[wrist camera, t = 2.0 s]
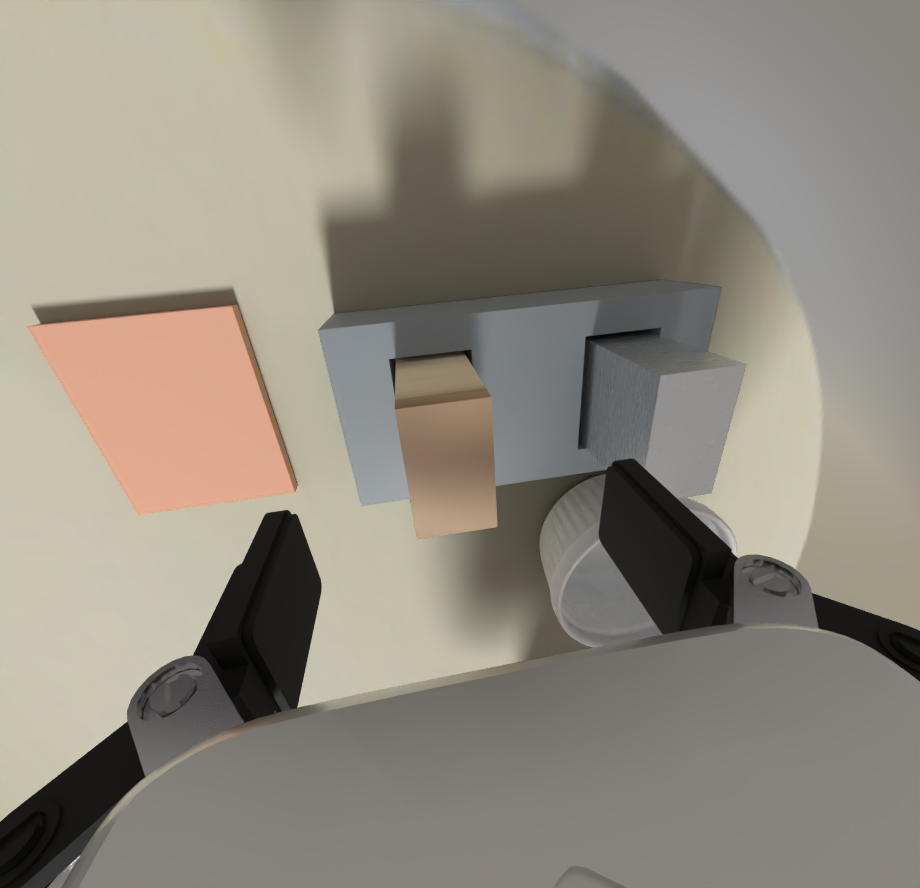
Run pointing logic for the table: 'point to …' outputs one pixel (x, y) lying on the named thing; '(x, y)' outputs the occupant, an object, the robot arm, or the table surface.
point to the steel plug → (658, 407)
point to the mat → (172, 405)
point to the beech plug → (446, 443)
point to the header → (498, 369)
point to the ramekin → (598, 569)
